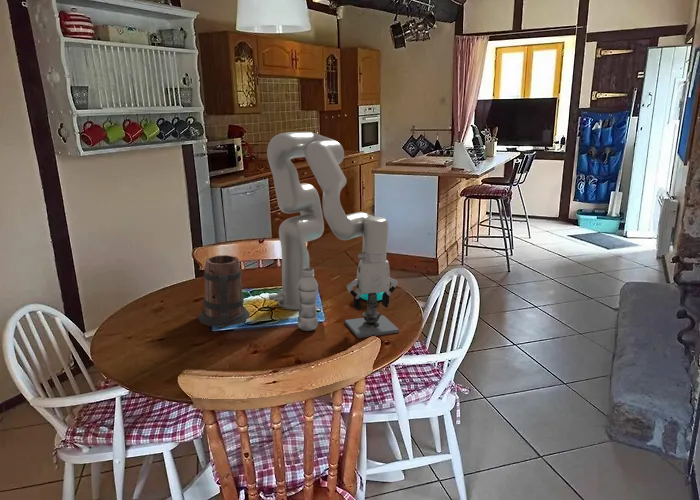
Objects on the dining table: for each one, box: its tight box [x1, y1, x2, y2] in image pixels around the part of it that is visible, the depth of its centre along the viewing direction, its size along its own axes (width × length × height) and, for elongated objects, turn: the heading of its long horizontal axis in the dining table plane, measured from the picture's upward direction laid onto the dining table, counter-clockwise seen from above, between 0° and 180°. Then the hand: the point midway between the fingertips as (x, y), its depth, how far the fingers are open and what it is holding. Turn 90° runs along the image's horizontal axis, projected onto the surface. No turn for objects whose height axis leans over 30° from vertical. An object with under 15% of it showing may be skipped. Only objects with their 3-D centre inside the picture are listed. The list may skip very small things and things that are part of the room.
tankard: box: [198, 254, 251, 327], centre depth 168 cm, size 24×17×20 cm
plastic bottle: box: [297, 267, 319, 332], centre depth 163 cm, size 6×7×20 cm
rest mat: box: [344, 314, 400, 339], centre depth 168 cm, size 14×12×1 cm
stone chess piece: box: [362, 293, 381, 328], centre depth 167 cm, size 6×6×12 cm
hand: (371, 307), depth 167 cm, fingers open, 9 cm apart
